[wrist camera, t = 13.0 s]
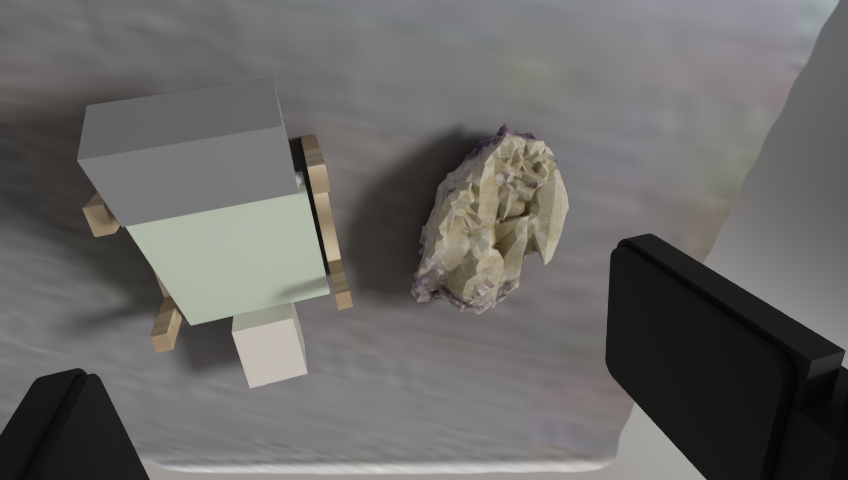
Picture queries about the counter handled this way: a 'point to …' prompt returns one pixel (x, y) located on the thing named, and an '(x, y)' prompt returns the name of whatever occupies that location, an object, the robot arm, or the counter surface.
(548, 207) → the geode
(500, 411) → the counter surface
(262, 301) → the trapdoor
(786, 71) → the counter surface
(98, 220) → the frame
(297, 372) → the cube
